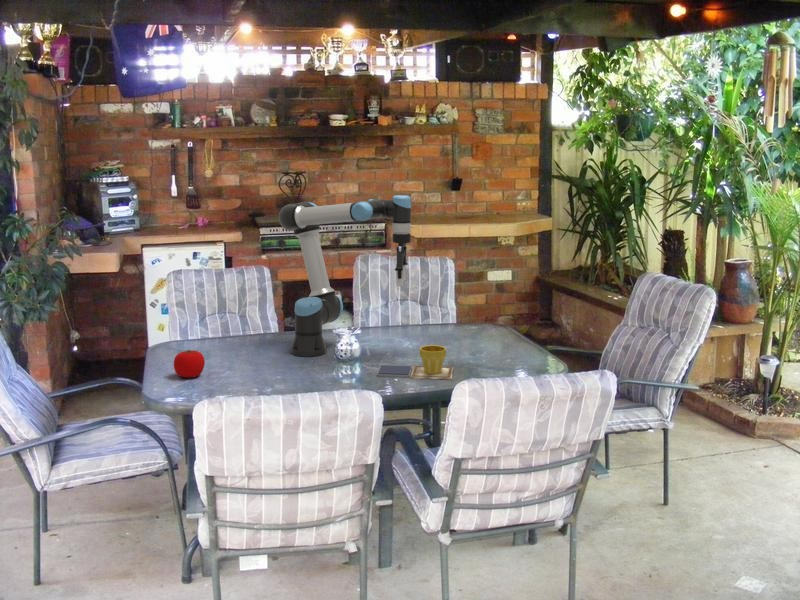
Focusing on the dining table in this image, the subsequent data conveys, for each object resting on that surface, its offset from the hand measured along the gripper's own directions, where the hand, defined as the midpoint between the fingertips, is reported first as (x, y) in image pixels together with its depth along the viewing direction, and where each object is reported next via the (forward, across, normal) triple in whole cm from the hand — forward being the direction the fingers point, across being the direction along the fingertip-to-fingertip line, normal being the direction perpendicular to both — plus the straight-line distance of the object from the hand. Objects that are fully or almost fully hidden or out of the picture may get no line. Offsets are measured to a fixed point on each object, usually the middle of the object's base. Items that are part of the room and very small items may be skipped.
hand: (401, 283), depth 381 cm
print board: (+32, -25, -15) cm, 43 cm away
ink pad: (+32, -25, 0) cm, 40 cm away
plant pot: (+31, -25, -15) cm, 43 cm away
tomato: (+32, -40, +79) cm, 94 cm away
